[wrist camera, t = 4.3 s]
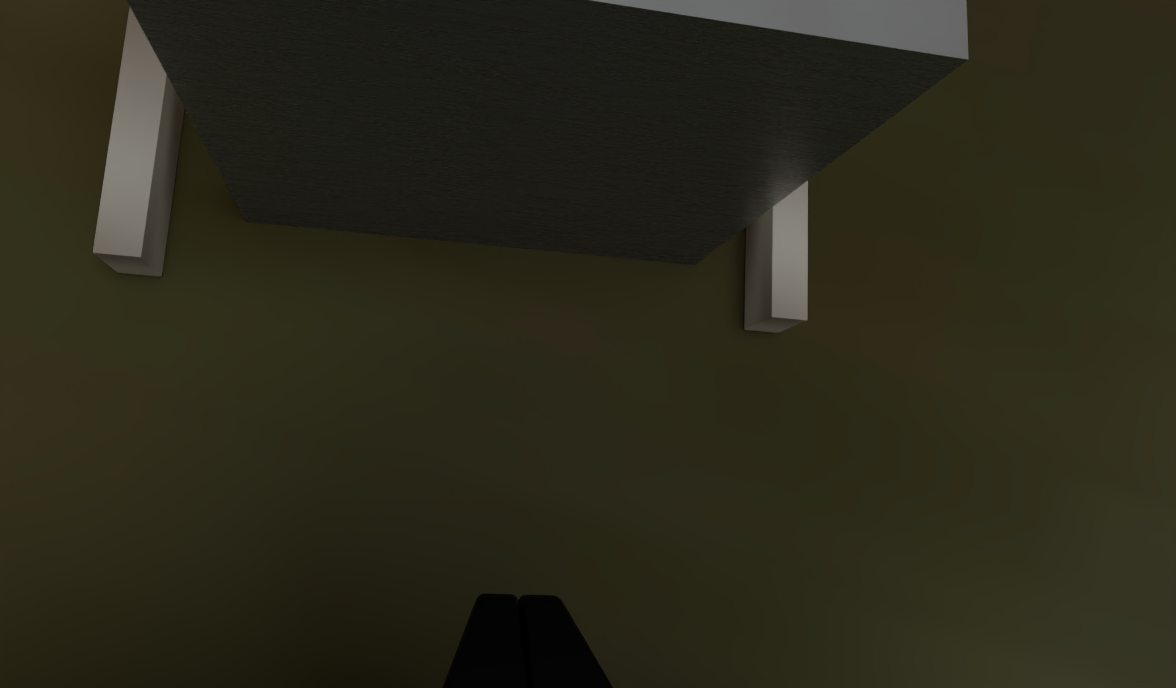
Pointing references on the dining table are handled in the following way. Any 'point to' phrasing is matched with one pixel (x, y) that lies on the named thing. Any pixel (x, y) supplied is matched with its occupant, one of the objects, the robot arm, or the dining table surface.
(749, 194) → the bookend
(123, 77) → the trap lane
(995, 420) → the dining table surface
